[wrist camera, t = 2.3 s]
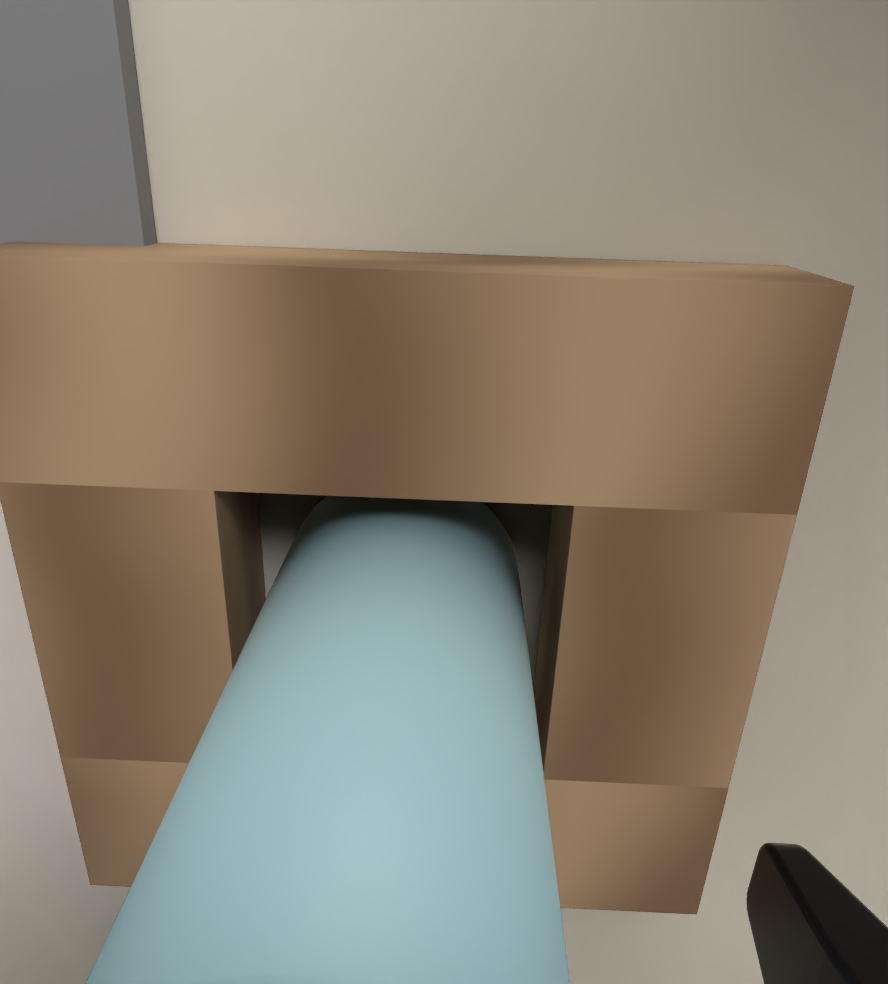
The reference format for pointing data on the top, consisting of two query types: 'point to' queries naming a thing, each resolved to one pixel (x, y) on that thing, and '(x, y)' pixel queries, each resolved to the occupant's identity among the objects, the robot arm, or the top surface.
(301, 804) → the peg
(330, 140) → the top surface
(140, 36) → the top surface
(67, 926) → the top surface
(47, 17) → the mat
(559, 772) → the pocket block
